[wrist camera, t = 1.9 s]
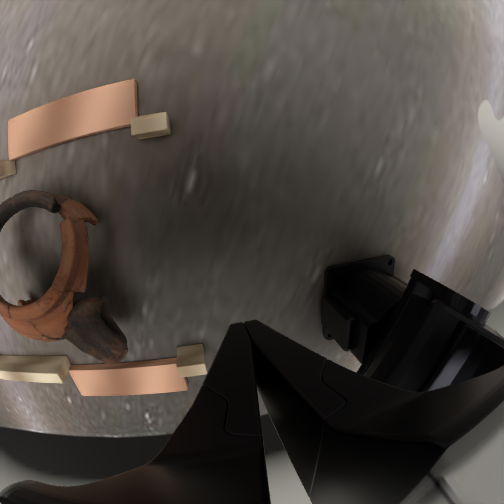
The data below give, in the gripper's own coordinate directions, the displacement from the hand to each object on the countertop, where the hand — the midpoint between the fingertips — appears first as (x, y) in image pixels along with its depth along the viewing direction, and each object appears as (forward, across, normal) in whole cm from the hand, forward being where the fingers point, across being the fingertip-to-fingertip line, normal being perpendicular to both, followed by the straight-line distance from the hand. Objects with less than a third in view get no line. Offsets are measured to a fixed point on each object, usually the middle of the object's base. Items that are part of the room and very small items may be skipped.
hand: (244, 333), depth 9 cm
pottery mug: (+11, +11, 0) cm, 15 cm away
